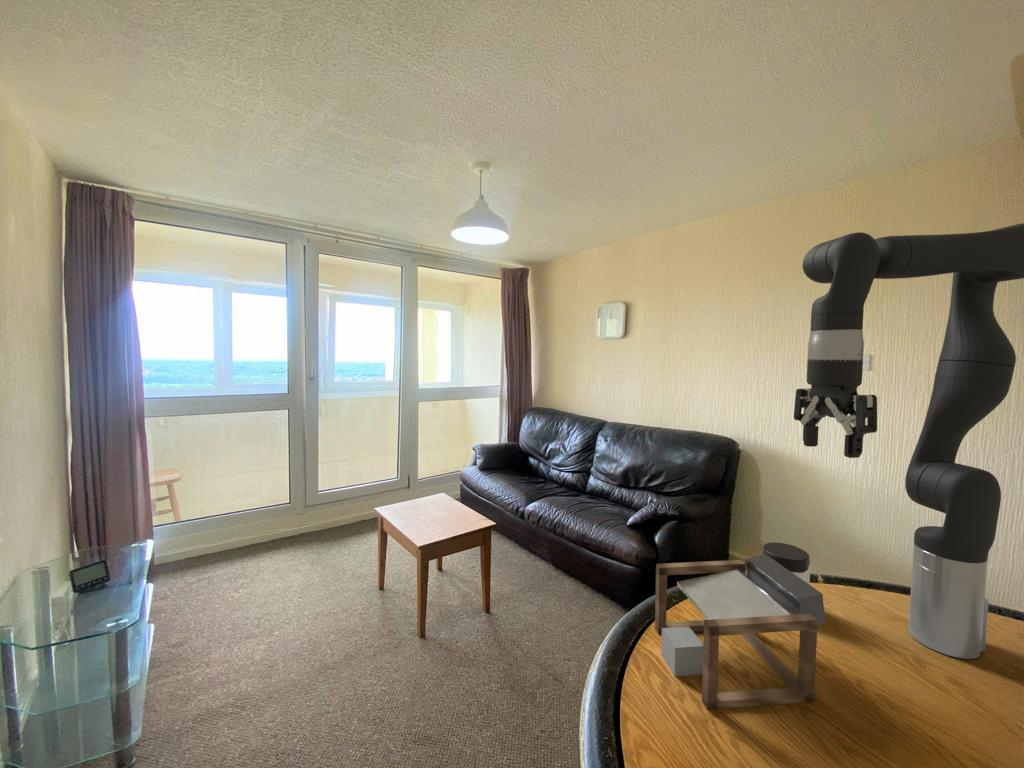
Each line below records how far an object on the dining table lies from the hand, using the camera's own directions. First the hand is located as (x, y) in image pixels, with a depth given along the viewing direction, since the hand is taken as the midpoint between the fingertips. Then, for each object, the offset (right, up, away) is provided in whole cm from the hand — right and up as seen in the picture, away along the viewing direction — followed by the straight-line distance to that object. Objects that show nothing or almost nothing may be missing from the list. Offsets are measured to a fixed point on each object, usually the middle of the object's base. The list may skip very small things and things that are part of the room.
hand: (829, 451), depth 72 cm
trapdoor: (-15, -27, 0) cm, 31 cm away
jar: (+2, -35, +16) cm, 39 cm away
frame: (-18, -36, 0) cm, 40 cm away
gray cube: (-23, -34, -1) cm, 41 cm away
